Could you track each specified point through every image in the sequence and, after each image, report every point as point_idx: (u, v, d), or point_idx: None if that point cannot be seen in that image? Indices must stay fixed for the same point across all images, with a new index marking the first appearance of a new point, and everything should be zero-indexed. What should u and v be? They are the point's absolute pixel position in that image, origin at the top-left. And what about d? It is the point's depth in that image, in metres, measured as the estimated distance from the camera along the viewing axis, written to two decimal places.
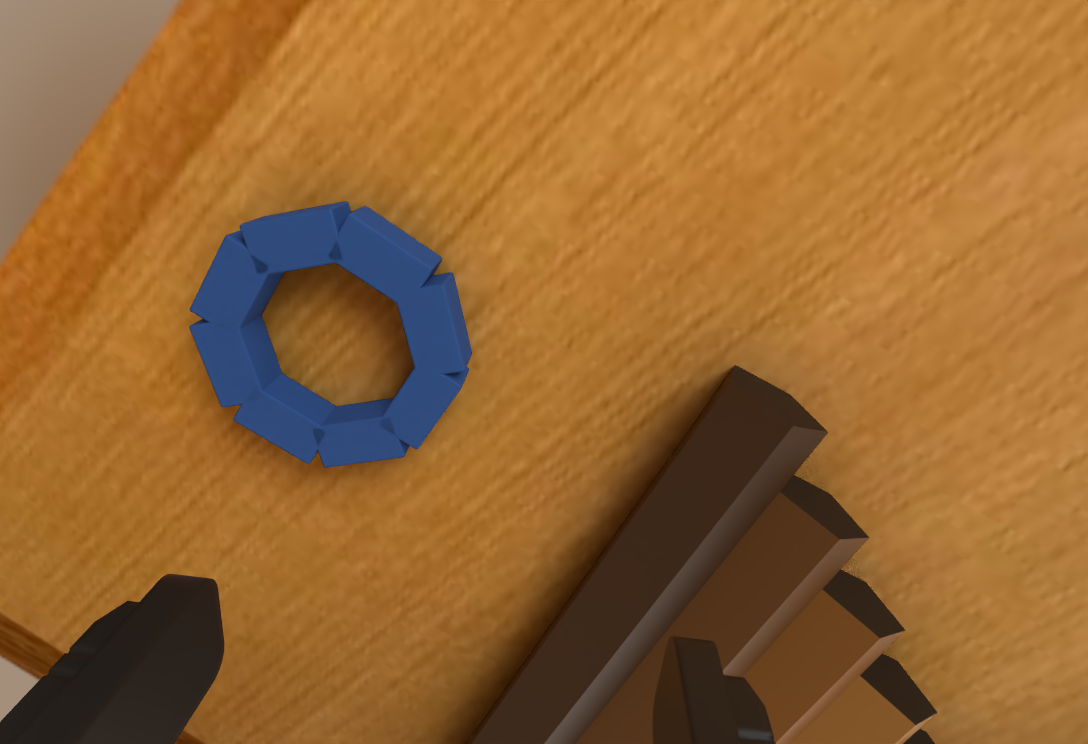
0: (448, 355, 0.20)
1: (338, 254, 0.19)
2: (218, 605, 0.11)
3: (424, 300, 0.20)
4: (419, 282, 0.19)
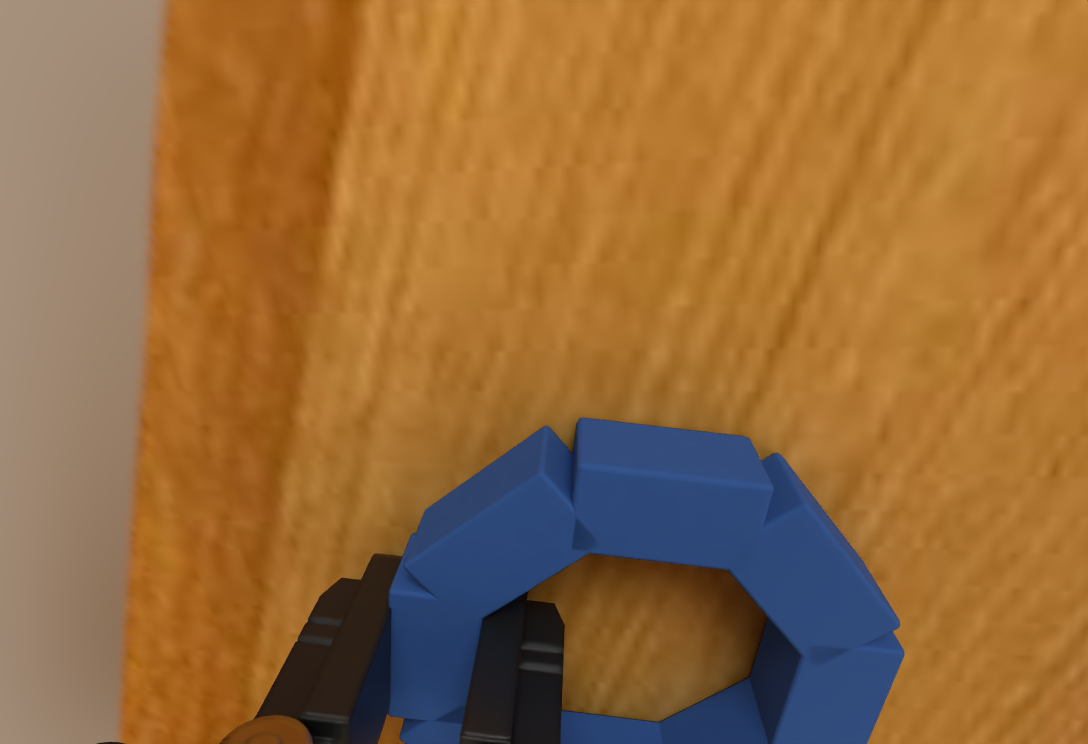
0: (861, 614, 0.10)
1: (589, 539, 0.10)
2: None
3: (780, 545, 0.10)
4: (758, 520, 0.09)
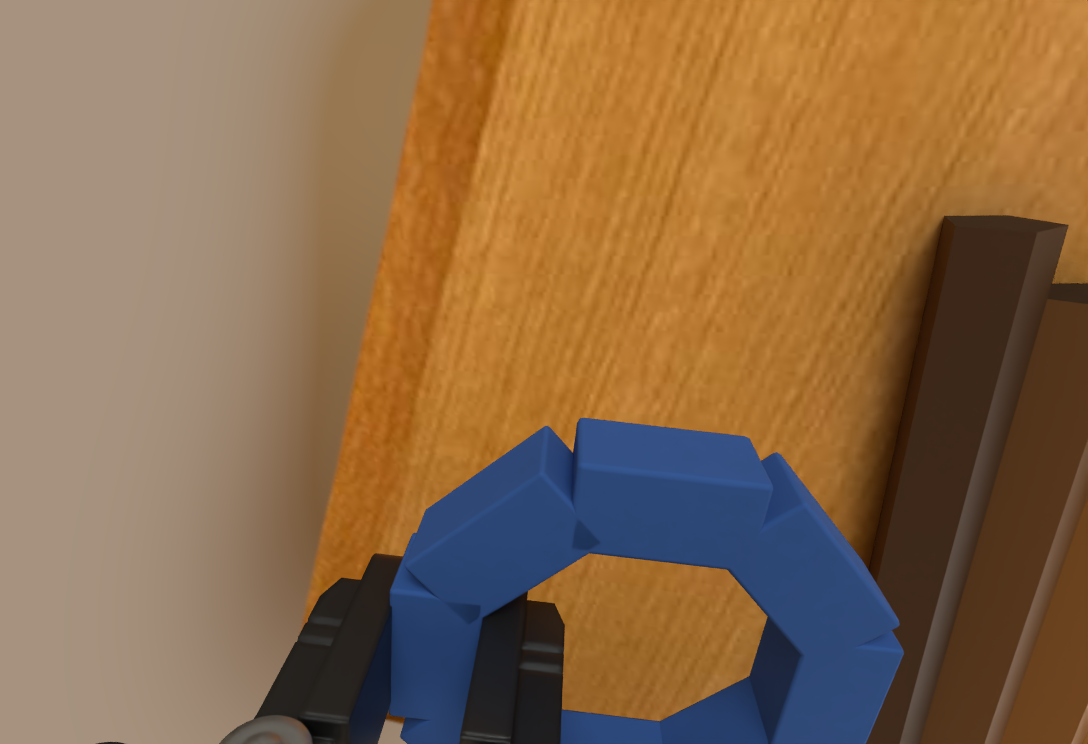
0: (860, 613, 0.10)
1: (589, 538, 0.10)
2: None
3: (779, 544, 0.10)
4: (758, 519, 0.10)
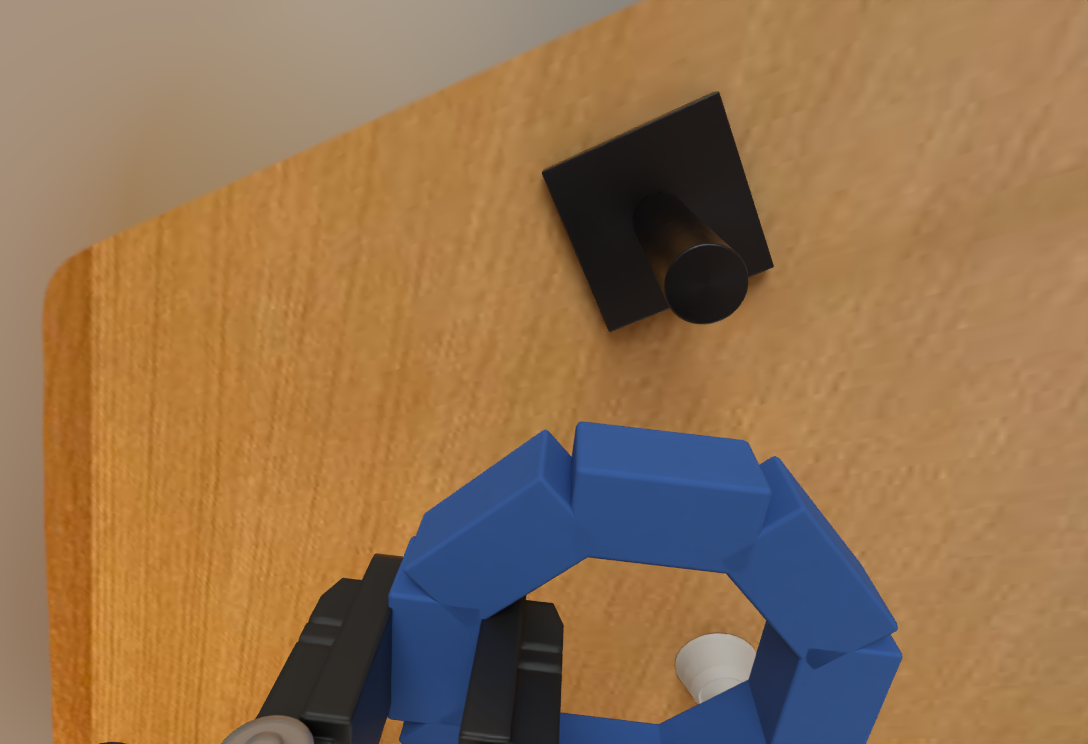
0: (859, 617, 0.10)
1: (588, 542, 0.10)
2: None
3: (778, 549, 0.10)
4: (756, 523, 0.10)
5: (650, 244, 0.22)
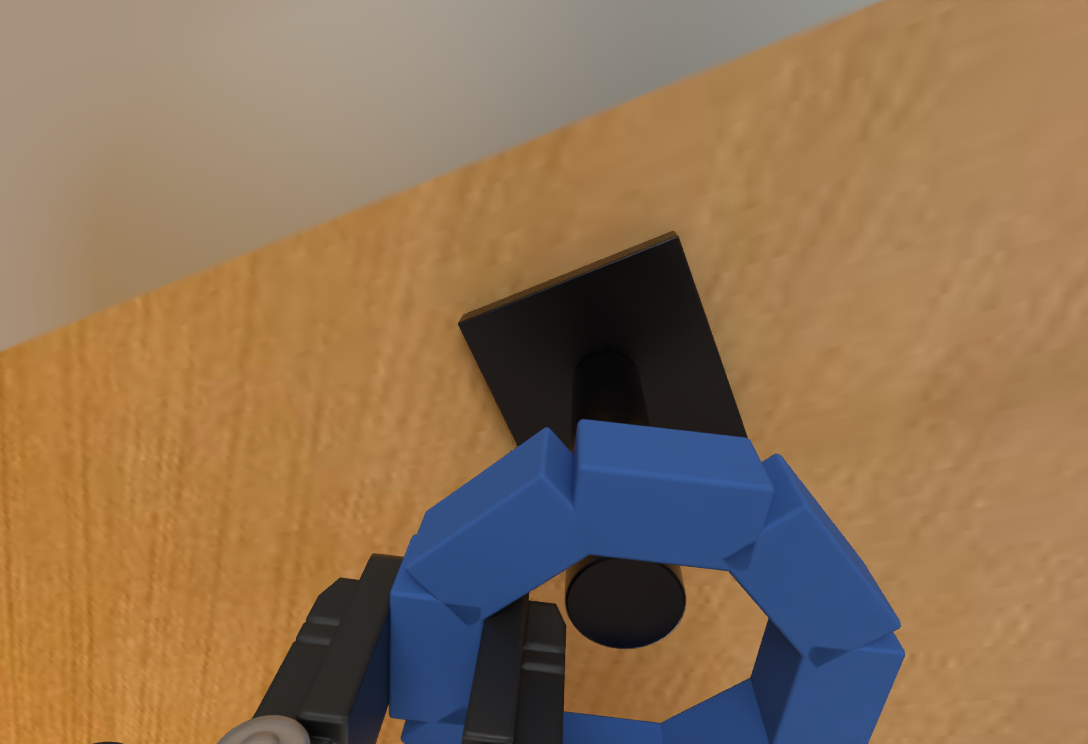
0: (862, 614, 0.10)
1: (590, 540, 0.10)
2: None
3: (780, 546, 0.10)
4: (759, 521, 0.10)
5: None
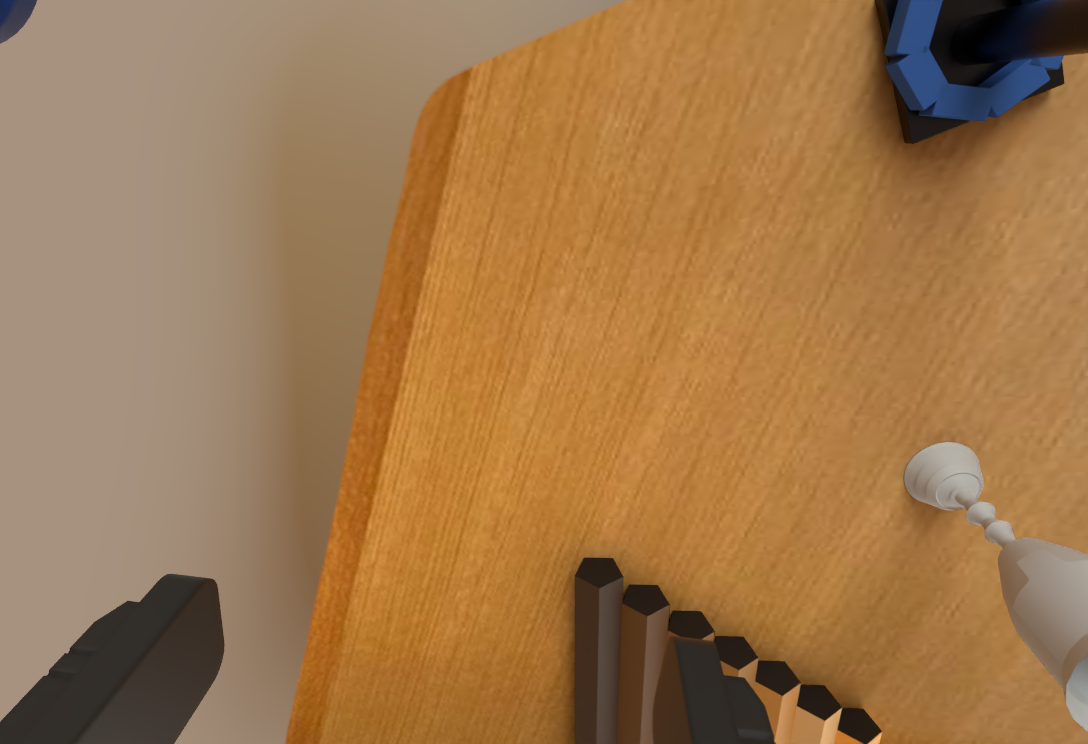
0: None
1: None
2: (218, 605, 0.11)
3: None
4: None
5: (1037, 17, 0.28)
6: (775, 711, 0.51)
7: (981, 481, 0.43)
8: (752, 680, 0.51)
